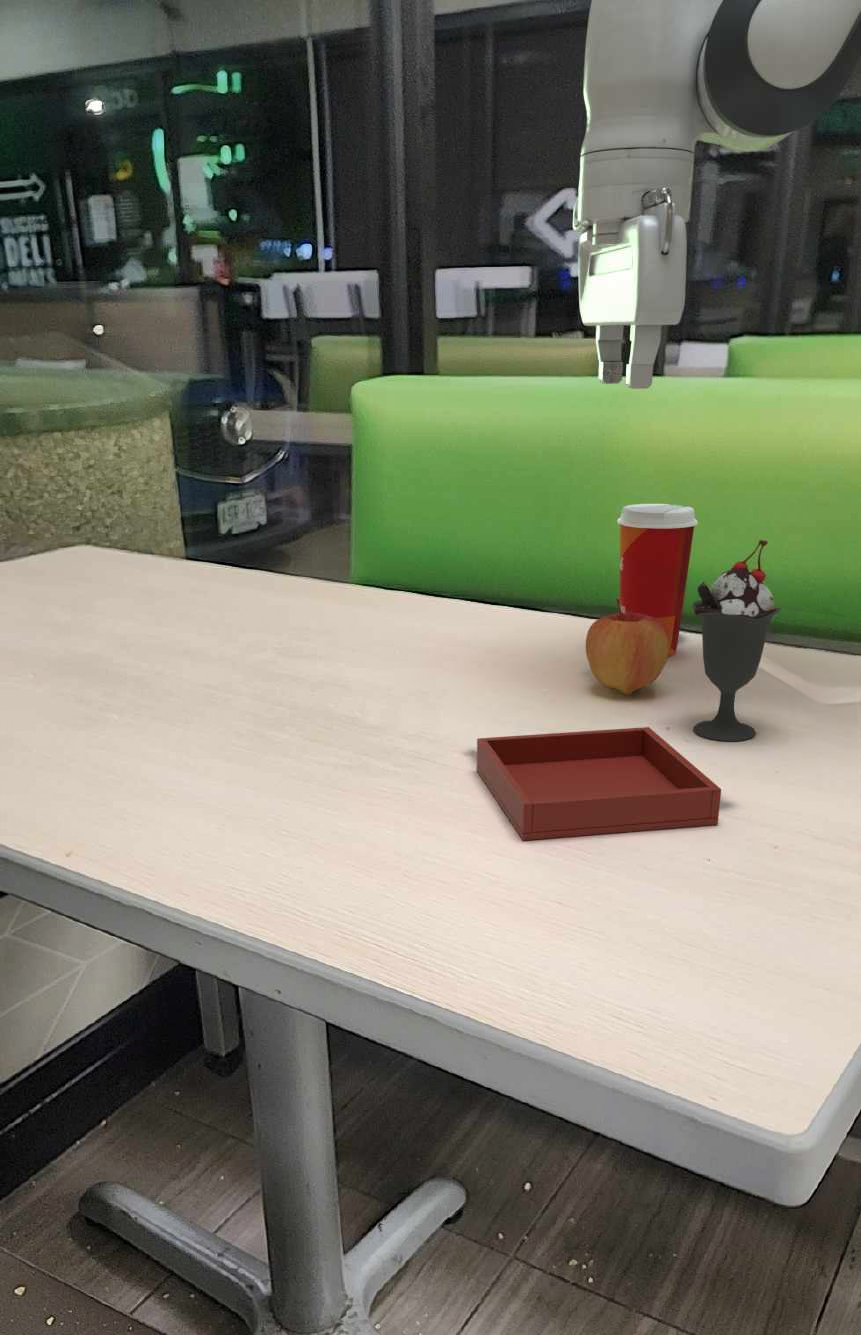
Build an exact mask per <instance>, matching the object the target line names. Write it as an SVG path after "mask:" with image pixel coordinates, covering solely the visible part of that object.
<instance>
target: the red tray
mask: <svg viewBox="0 0 861 1335" xmlns="http://www.w3.org/2000/svg"><path fill="white" fill-rule="evenodd" d="M476 772H477V773H478V774H479V776H480V777H481V779H482V781H483V782H484V784H485V785H486V787H487V788H488V790H489V791H490V792H491V794H492V796H493V797H494V798H495V800H496V802H497V804H498V805H499V806H500V808H501V809H502V811H503V812H504V814H505V816H506V817H507V819H508V820H509V822H510V823H511V824H512V826H513V827H514V830H516V832H517V834H518V835H519V836H520V838H521V840H522V841H532V840H534V841H535V840H545V839H555V838H556V839H558V838H570V837H580V836H582V837H583V836H591V835H592V836H594V835H607V834H617V833H618V834H619V833H630V832H631V833H632V832H643V831H654V830H665V829H668V830H669V829H679V828H691V827H703V826H714V825H718V824H719V816H720V806H721V805H720V804H721V797H722V796H721V795H722V788H721V787H719V786H718V785H717V784H716V783H715V782H713V781H712V780H711V779H710V778H709V777H708V776H706V774H704V773H703V772H702V771H701V770H699V769H698V768H697V767H696V766H695V765H693V763H692V762H690V761H689V760H688V759H687V758H685V756H683V755H682V754H681V753H680V752H679V751H678V750H676V749H675V748H674V747H673V746H672V745H671V744H669V743H668V742H667V741H666V740H664V738H662V737H661V736H660V735H658V734H657V733H656V732H655V731H654V730H653V729H652V728H651V727H650V726H645V727H629V728H615V729H614V728H613V729H600V730H599V729H597V730H582V731H570V732H569V731H568V732H553V733H537V734H536V733H535V734H525V735H511V736H510V735H509V736H494V737H493V736H491V737H480V738H477V739H476Z"/></svg>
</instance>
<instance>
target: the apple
mask: <svg viewBox="0 0 861 1335" xmlns="http://www.w3.org/2000/svg"><path fill="white" fill-rule="evenodd" d="M615 601H616V604H617V607H618V612H619V613H614V614H609V615H606V616H602V617H601V618H598V619H597V620H595V621H594V622H592V623H591V625H590V626H589V628H588V631H587V633H586V637H585V638H586V639H585V654H586V660H587V662H588V665H589V667H590V670H591V672H592V674H593V676H594V677H595V679H596V680H597V682H598V683H599V684H600V685H601V686H602V687H604V688H605V689H607V690H609V691H614V690H618V691H620V692H621V693H622V694H623V695H624V696H625V695H626V696H628V695H630V694H632V693H633V692H635V691H636V690H639V689H642V688H644V687H647V686H649V685H651V684H652V683H654V682H655V681H656V680H657V679H658V677H659V676H660V675H661V673H662V672H663V670H664V668H665V665H666V664H667V661H668V658H669V657H668V655H669V650H670V636H669V631H668V628H667V627H666V625H665V624H664V623H663V622H662V621H660V620H658V619H656V618H653V617H650V616H647V615H644V614H639V613H622V612H621V608H620V598H615Z"/></svg>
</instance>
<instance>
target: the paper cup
mask: <svg viewBox="0 0 861 1335" xmlns="http://www.w3.org/2000/svg"><path fill="white" fill-rule="evenodd" d="M616 523H617V524H618V525H619V599H620V601H619V603H620V608H621V612H622V613H639V614H644V615H647V616H650V617H653V618H656V619H658V620H660V621H662V622H663V623H664V624H665V625H666V627H667V628H668V631H669V636H670V650H669V655H668V658H669V657H671V656H674V655H675V654H676V652H677V648H678V644H679V637H680V630H681V623H682V618H683V617H682V616H683V610H684V602H685V594H686V589H687V588H686V587H687V581H688V573H689V566H690V558H691V552H692V544H693V538H694V530H695V526H697V525H698V524H699V522H698V520H697V519H696V515H695V509H694V508H693V507H691V506H684V505H680V504H672V505H671V503H637V504H636V503H635V504H628V505H625V506H623V507H622V509H621V513H620V517H618V518H617V520H616Z"/></svg>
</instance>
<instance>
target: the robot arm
mask: <svg viewBox="0 0 861 1335" xmlns="http://www.w3.org/2000/svg"><path fill="white" fill-rule="evenodd" d="M584 49H585V50H584V66H583V81H582V82H583V85H582V93H583V101H584V105H585V110H586V128H585V133H584V138H583V142H582V144H581V148H580V154H579V156H580V158H579V181H578V190H577V191H578V194H577V198H576V201H575V203H574V205H573V209H572V210H573V212H572V214H573V215H572V229H573V231H574V232H578V233H579V232H581V233H580V235H579V237H578V247H577V248H578V252H577V268H578V270H577V272H578V302H579V303H578V304H579V312H580V318H581V322H582V325H584V326H585V327H595V328H596V329H595V345H596V351H597V358H598V376H597V378H598V382H600V383H601V384H605V385H608V384H609V385H610V384H611V385H614V384H620V383H621V382H622V380H623V372H624V371H623V370H624V361H622V341H623V340H624V327H625V326H630V333H629V341H630V342H631V344H630V352H629V353H630V354H629V361H628V363H627V364H626V370H625V371H626V372H625V376H626V377H625V384H626V386H627V387H628V388H629V389H635V390H637V389H641V390H643V389H649V388H651V386H652V384H653V375H654V364H655V361H656V358H657V355H658V352H659V348H660V344H661V341H662V340H661V338H662V326H671V325H673V326H674V325H678V324H679V323H680V322H681V320H682V316H683V313H684V310H685V302H686V288H687V286H686V284H687V255H688V254H687V253H688V249H687V248H688V246H687V245H688V244H687V240H688V238H687V226H686V223H687V222H689V221H690V216H691V203H692V201H691V200H692V189H693V177H694V176H693V175H694V163H695V152H696V151H695V149H696V144H697V142H699V143H704V144H707V145H713V146H719V147H722V148H727V149H729V150H733V151H738V152H756V151H761V150H764V149H767V148H769V147H772V146H774V145H776V144H778V143H780V142H782V141H783V140H784V139H785V138H788V137H789V135H791V134H792V133H794V132H796V131H799V130H801V129H803V128H805V127H807V126H808V125H810V124H812V123H813V122H815V121H816V120H817V119H819V118H820V117H821V116H823V115H824V114H825V113H826V112H827V111H828V110H829V109H830V108H831V106H832V105H834V103H835V102H836V101H837V99H838V98H839V97H840V96H841V94H842V92H843V91H844V90H845V87H846V86H847V84H848V83H849V81H850V79H851V77H852V75H853V74H854V71H855V69H856V67H857V65H858V63H859V61H860V58H861V0H591V2H590V7H589V14H588V21H587V29H586V38H585V48H584Z"/></svg>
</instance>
